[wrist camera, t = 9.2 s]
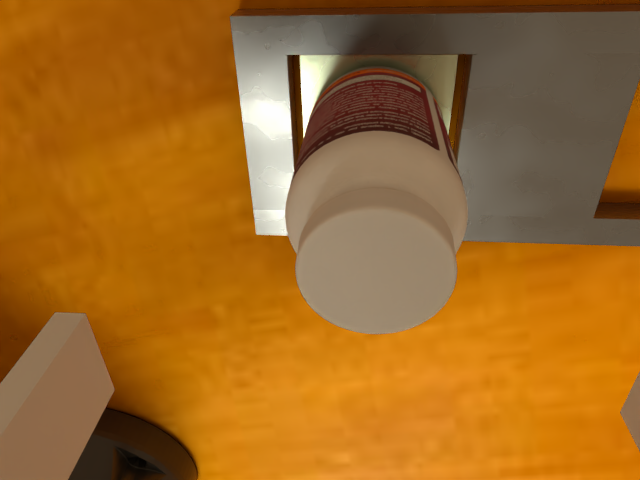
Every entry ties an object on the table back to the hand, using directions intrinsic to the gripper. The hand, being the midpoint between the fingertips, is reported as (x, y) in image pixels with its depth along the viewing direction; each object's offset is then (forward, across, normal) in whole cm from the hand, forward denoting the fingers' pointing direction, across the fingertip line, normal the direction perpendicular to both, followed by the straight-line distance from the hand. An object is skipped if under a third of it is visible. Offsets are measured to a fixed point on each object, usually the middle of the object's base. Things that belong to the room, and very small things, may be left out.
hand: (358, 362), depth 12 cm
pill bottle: (+14, +1, 0) cm, 14 cm away
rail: (+14, +8, 0) cm, 16 cm away
